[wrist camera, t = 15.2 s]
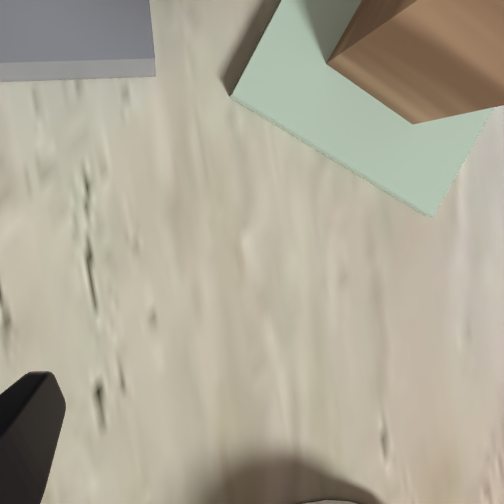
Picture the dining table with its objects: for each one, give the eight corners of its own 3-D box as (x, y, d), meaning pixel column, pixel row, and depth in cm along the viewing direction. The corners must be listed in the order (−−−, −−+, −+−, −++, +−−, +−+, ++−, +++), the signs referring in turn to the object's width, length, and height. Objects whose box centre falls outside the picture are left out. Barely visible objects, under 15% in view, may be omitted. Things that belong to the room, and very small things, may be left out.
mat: (425, 215, 19) (433, 217, 18) (229, 97, 17) (232, 94, 16) (537, 13, 19) (549, 8, 18) (351, -134, 16) (358, -146, 16)
